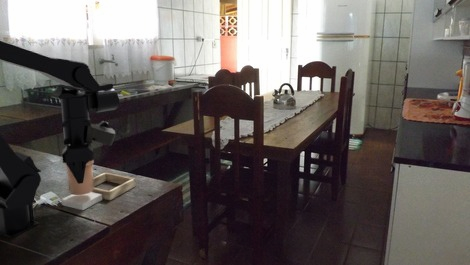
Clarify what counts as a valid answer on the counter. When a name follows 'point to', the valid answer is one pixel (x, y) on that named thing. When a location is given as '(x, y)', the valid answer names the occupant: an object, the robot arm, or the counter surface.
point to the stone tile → (82, 200)
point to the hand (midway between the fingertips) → (80, 178)
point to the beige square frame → (123, 180)
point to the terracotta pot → (87, 183)
